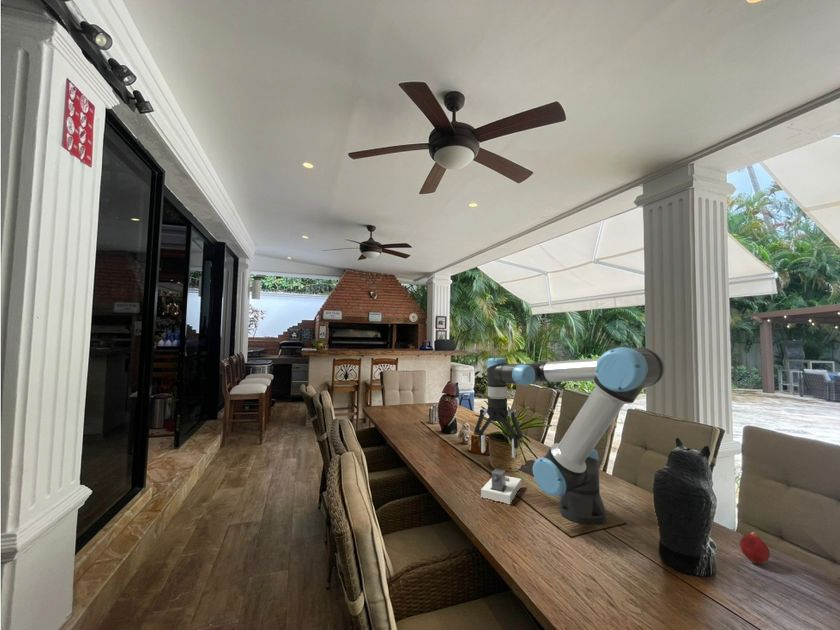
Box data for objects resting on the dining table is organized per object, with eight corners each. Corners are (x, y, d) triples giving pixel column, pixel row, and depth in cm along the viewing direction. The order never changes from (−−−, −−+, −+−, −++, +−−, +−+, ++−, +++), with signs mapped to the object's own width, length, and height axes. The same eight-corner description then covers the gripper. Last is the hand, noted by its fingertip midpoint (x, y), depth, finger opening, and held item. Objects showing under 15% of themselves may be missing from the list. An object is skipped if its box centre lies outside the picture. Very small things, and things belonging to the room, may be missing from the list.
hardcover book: (546, 487, 144) (546, 481, 144) (508, 469, 164) (507, 464, 164) (572, 480, 151) (572, 474, 151) (532, 464, 171) (532, 459, 172)
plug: (505, 494, 135) (505, 470, 135) (501, 501, 129) (500, 476, 130) (495, 492, 137) (495, 468, 137) (490, 498, 131) (490, 474, 131)
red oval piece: (761, 572, 90) (758, 539, 90) (735, 558, 95) (733, 528, 96) (776, 568, 91) (773, 536, 92) (750, 555, 97) (747, 525, 97)
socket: (521, 487, 142) (521, 476, 142) (509, 505, 126) (509, 493, 127) (495, 482, 147) (494, 472, 148) (481, 499, 132) (480, 487, 132)
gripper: (530, 398, 134) (531, 456, 132) (472, 393, 145) (472, 447, 144) (525, 401, 127) (527, 461, 126) (465, 396, 139) (466, 452, 137)
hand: (498, 454), depth 135 cm, fingers open, 11 cm apart
